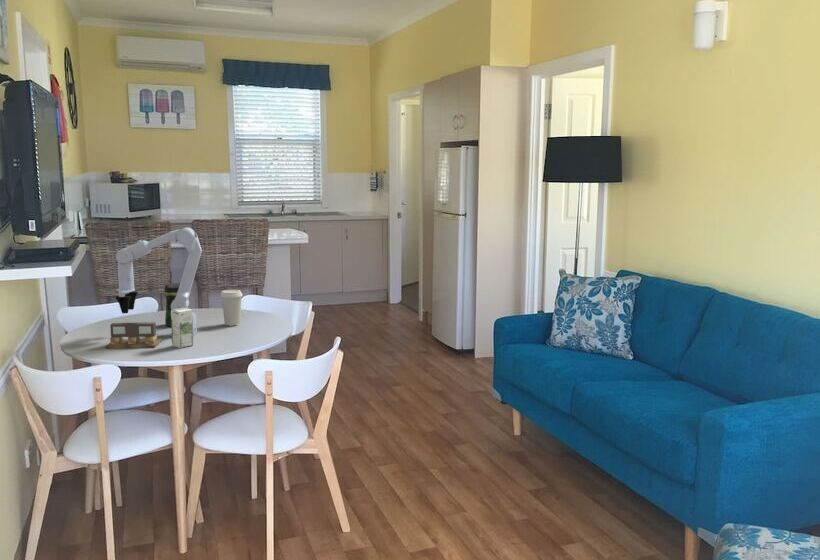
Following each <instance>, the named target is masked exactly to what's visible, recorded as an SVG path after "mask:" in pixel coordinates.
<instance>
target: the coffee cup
mask: <svg viewBox="0 0 820 560" xmlns="http://www.w3.org/2000/svg"><path fill="white" fill-rule="evenodd" d="M243 295H244V294H243V293H242V291H241V290H240V289H226V290H222V291H221V294H220V296H219V297H220V298H221V305H222V312H223V313H222V314H223V320H224V326H225V325H237V324H240V325H241V318H242V317H241V315H242V299H243Z"/></svg>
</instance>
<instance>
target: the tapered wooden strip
mask: <svg viewBox="0 0 820 560" xmlns="http://www.w3.org/2000/svg"><path fill="white" fill-rule="evenodd" d="M156 334H157V325H156V322H155V321H153V322H152V321H151V322H147V321H145V322H112V323H111V324H110V338H111V337H123V338H128V337H140V338H145V337H154V336H155V335H156Z"/></svg>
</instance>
